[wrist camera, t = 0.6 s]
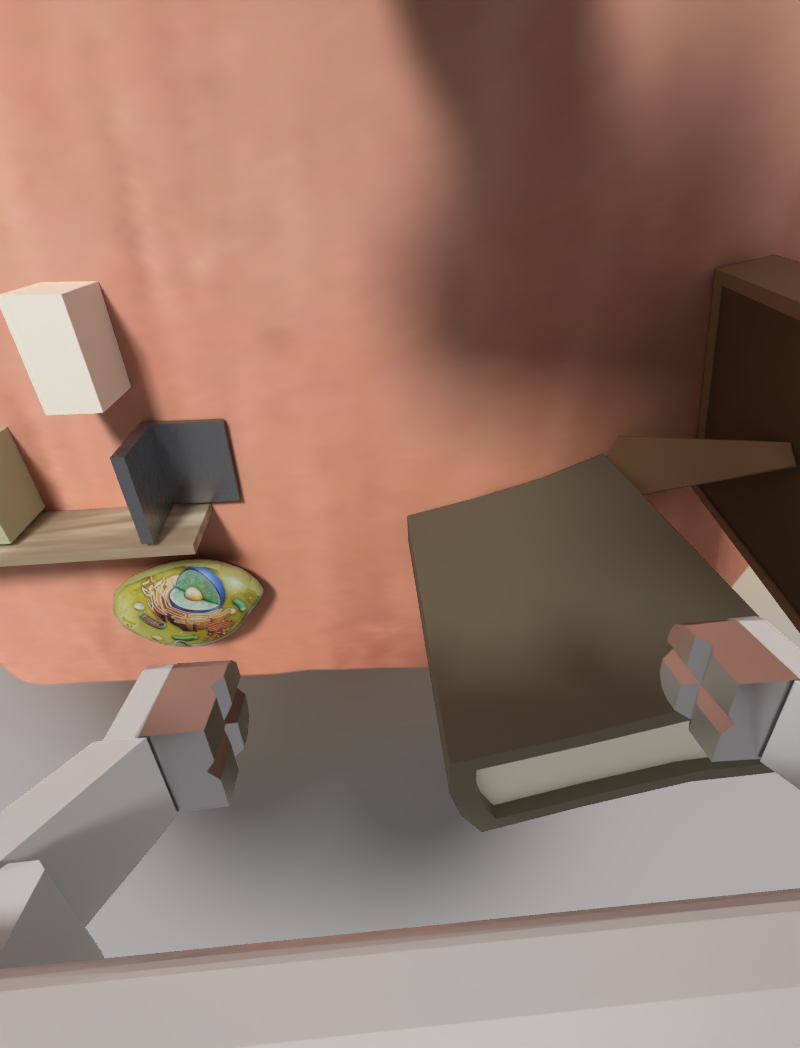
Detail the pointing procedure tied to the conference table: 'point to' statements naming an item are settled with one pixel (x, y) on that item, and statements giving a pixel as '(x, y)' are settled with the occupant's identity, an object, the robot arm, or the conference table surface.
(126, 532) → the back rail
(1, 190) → the conference table surface
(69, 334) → the book ivory
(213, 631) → the cell model
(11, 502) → the book olive
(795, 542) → the photo frame
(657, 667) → the book
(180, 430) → the bookend
